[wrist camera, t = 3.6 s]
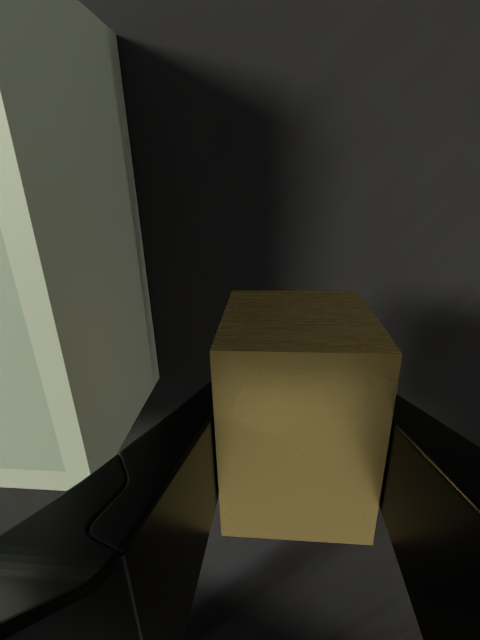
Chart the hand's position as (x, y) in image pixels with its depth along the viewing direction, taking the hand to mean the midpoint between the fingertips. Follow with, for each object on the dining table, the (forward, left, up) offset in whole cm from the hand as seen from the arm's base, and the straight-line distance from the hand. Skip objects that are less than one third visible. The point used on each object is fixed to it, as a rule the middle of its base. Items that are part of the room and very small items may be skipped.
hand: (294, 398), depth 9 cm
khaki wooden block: (0, 0, -2) cm, 2 cm away
